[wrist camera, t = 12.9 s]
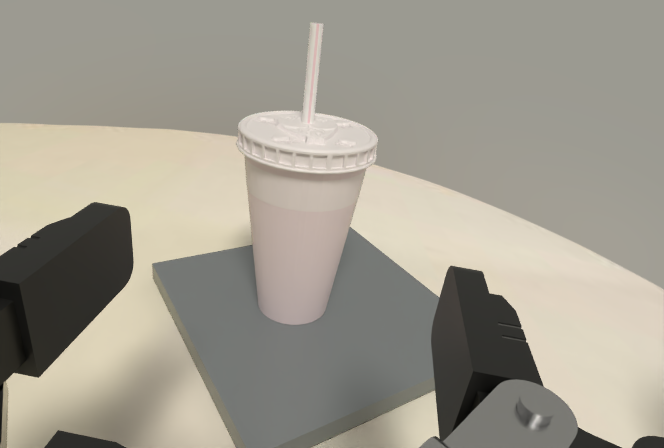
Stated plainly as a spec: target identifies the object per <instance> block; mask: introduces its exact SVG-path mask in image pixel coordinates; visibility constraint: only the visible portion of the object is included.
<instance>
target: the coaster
mask: <svg viewBox="0 0 664 448" xmlns="http://www.w3.org/2000/svg"><path fill="white" fill-rule="evenodd" d="M152 269H153V279H154V281H155V283H156V285H157V287H158V289H159V291H160V293H161V295H162V297H163V299H164V301H165V304H166V306H167V308H168V310H169V312H170V314H171V316H172V318H173V320H174V322H175V324H176V326H177V328H178V330H179V332H180V334H181V336H182V338H183V340H184V342H185V344H186V346H187V348H188V350H189V352H190V354H191V356H192V359H193V361H194V363H195V365H196V367H197V369H198V371H199V373H200V375H201V377H202V379H203V381H204V383H205V385H206V387H207V389H208V391H209V393H210V395H211V397H212V399H213V401H214V403H215V405H216V407H217V409H218V411H219V414H220V416H221V418H222V420H223V422H224V424H225V426H226V428H227V430H228V432H229V434H230V436H231V438H232V440H233V442H234V444H235V446H236V448H310V447H313V446H315V445H317V444H319V443H321V442H323V441H326V440H328V439H330V438H332V437H334V436H336V435H339V434H341V433H343V432H345V431H347V430H349V429H351V428H354V427H356V426H358V425H360V424H362V423H364V422H367V421H369V420H371V419H373V418H375V417H377V416H380V415H382V414H384V413H386V412H388V411H390V410H393V409H395V408H397V407H399V406H401V405H403V404H405V403H408V402H410V401H412V400H414V399H416V398H418V397H421V396H423V395H425V394H427V393H429V392H431V391H434V390H435V381H434V370H433V359H432V348H431V332H432V325H433V320H434V316H435V312H436V309H437V305H438V302H439V297H438V296H437V295H435V294H434V293H433V292H432V291H430V290H429V289H428V288H427V287H425V286H424V285H423V284H421V283H420V282H419V281H418V280H416V279H415V278H414V277H413V276H411V275H410V274H409V273H408V272H406V271H405V270H404V269H403V268H401V267H400V266H399V265H398V264H396V263H395V262H394V261H392V260H391V259H390V258H389V257H387V256H386V255H385V254H384V253H382V252H381V251H380V250H379V249H377V248H376V247H375V246H374V245H372V244H371V243H370V242H369V241H367V240H366V239H365V238H364V237H362V236H361V235H360V234H358V233H357V232H356V231H355V230H353V229H352V228H351V227H349V231H348V234H347V238H346V241H345V244H344V248H343V251H342V255H341V258H340V262H339V265H338V269H337V272H336V276H335V279H334V282H333V286H332V289H331V293H330V296H329V300H328V303H327V307H326V310H325V312H324V314H323V315H322V316H321V317H320V318H318V319H317V320H315V321H313V322H310V323H307V324H301V325H289V324H283V323H279V322H276V321H274V320H271V319H270V318H268V317H267V316H265V315H264V314H263V313H262V312H261V310H260V308H259V306H258V297H257V286H256V276H255V265H254V254H253V245H250V246H245V247H239V248H234V249H229V250H223V251H218V252H212V253H207V254H202V255H196V256H191V257H185V258H180V259H175V260H169V261H164V262H158V263H153V264H152Z"/></svg>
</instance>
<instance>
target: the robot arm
mask: <svg viewBox="0 0 664 448" xmlns="http://www.w3.org/2000/svg"><path fill="white" fill-rule="evenodd" d="M132 270H133V248H132V235H131V221H130V214H129V212H128V210H127V209H126V208H124V207H120V206H114V205H108V204H103V203H97V202H94V203H91V204H90V205H88V206H87V207H85V208H84V209H82V210H81V211H79V212H78V213H76V214H75V215H73V216H72V217H69V218H66V219H63V220H61V221H58V222H55V223H52V224H49V225H47V226H45V227H44V228H42V229H41V230H39V231H38V232H36V233H35V234H33V235H32V236H31V238H27V239H25V240H24V241H22V242H21V243H19V244H18V246H17V247H13V248H12V249H10V250H9V251H7V252H5V253H4V254H2V255H1V256H0V448H7V422H8V387H7V383H6V380H7V379H8V378H9V377H10V376H11V375H12V374H13V373H18V374H23V375H28V376H33V377H38V378H39V377H40V376H41V375H42V374H43V372H44V371H45V370H46V369H47V368H48V367H49V366H50V365H51V364H52V363H53V362H54V361H55V360H56V359H57V358H58V357H59V356H60V354H61V353H62V352H63V351H64V350H65V349H66V348H67V347H68V346H69V345H70V344H71V343H72V342H73V341H74V340H75V339H76V338H77V336H78V335H79V334H80V333H81V332H82V331H83V330H84V329H85V328H86V327H87V326H88V325H89V324H90V323H91V322H92V321H93V320H94V318H95V317H96V316H97V315H98V314H99V313H100V312H101V311H102V310H103V309H104V308H105V307H106V306H107V305H108V304H109V303H110V301H111V300H112V299H113V298H114V297H115V296H116V295H117V294H118V293H119V292H120V291H121V290H122V289H123V288H124V287H125V285H126V284H127V283H128V281H129V279H130V277H131V274H132ZM431 348H432V359H433V370H434V381H435V392H436V403H437V414H438V425H439V436H440V439H439V438H438V437H436V436H434V437H431V438H430V439H428V440H427V441H426V442H425V443H424V444H423V445H422V446H421V447H420V448H621V447H619V446H617V445H615V444H612V443H610V442H608V441H605V440H603V439H601V438H599V437H596V436H594V435H592V434H590V433H588V432H586V431H584V430H582V429H580V428H579V427H578V425H577V421H576V418H575V416H574V414H573V412H572V410H571V409H570V408H569V407H568V405H567V404H566V403H565V402H564V401H563V400H562V399H561V398H560V397H558V396H557V395H556V394H554V393H553V392H551V391H550V390H548V389H546V388H545V387H544V386H543V383H542V381H541V378H540V375H539V373H538V370H537V367H536V364H535V362H534V359H533V356H532V354H531V351H530V348H529V345H528V343H526V337H525V335H524V332H523V329H521V324H520V321H519V318H518V316H517V313H516V311H515V309H514V308H513V307H512V306H511V305H510V304H509V303H508V302H507V301H506V300H505V299H504V298H503V296H500V295H495V294H489V291H488V287H487V284H486V281H485V278H484V274H483V272H482V271H477V270H472V269H466V268H461V267H455V266H450V267H449V269H448V271H447V274H446V277H445V281H444V284H443V288H442V291H441V295H440V298H439V302H438V305H437V309H436V312H435V316H434V320H433V325H432V332H431ZM45 448H126V447H124V446H122V445H120V444H118V443H116V442H112V441H107V440H102V439H97V438H92V437H88V436H83V435H78V434H73V433H68V432H64V431H59V430H58V431H57V432H56V434H55V435H54V436H53V437H52V439H51V440H50V441H49V443H48V444H47V445H46V446H45ZM632 448H664V438H663V437H657V436H646V437H642V438H640V439H638V440H637V441H636V442H635V443H634V445H633V447H632Z"/></svg>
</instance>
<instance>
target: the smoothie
mask: <svg viewBox="0 0 664 448" xmlns="http://www.w3.org/2000/svg"><path fill="white" fill-rule="evenodd" d="M322 34H323V24H320V23H313V22H311V23H310V33H309V44H308V55H307V67H306V78H305V89H304V101H303V111H270V112H261V113H256V114H252V115H250V116H247V117H245V118H244V119H242V120H241V121H240V122H239V124H238V140H237V142H236V145H237V147H238V150H239V151H240V152H241V153H242V154H244V156H245V169H246V182H247V190H248V201H249V212H250V222H251V233H252V244H253V254H254V265H255V276H256V286H257V297H258V306H259V308H260V310H261V312H262V313H263V314H264V315H265V316H267V317H268V318H270V319H271V320H274V321H276V322H279V323H283V324H289V325H301V324H307V323H310V322H313V321H315V320H317V319H318V318H320V317H321V316H322V315H323V314H324V312H325V310H326V307H327V303H328V300H329V296H330V293H331V289H332V286H333V282H334V279H335V276H336V272H337V269H338V265H339V262H340V258H341V255H342V251H343V248H344V244H345V241H346V238H347V234H348V231H349V227H350V224H351V220H352V217H353V213H354V210H355V207H356V203H357V200H358V197H359V194H360V190H361V186H362V182H363V179H364V175H365V171H366V168H368V167H369V166H371V165H372V164H374V163H375V160H376V157H377V156H376V149H377V143H378V138H377V136H376V135H375V133H374V132H373V131H371V130H370V129H369V128H367V127H365V126H363V125H361V124H359V123H356V122H354V121H351V120H348V119H344V118H340V117H336V116H331V115H326V114H320V113H315V104H316V94H317V84H318V74H319V64H320V54H321V44H322Z"/></svg>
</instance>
